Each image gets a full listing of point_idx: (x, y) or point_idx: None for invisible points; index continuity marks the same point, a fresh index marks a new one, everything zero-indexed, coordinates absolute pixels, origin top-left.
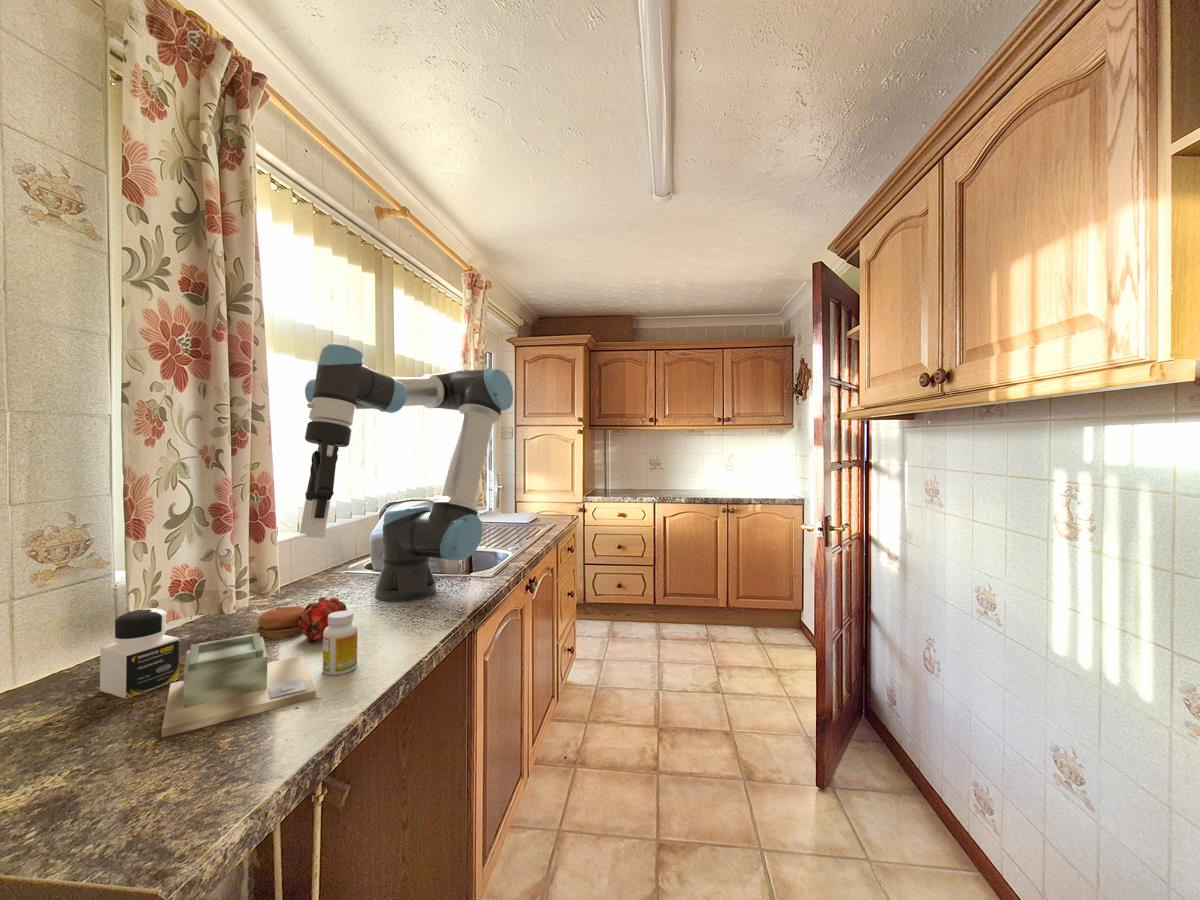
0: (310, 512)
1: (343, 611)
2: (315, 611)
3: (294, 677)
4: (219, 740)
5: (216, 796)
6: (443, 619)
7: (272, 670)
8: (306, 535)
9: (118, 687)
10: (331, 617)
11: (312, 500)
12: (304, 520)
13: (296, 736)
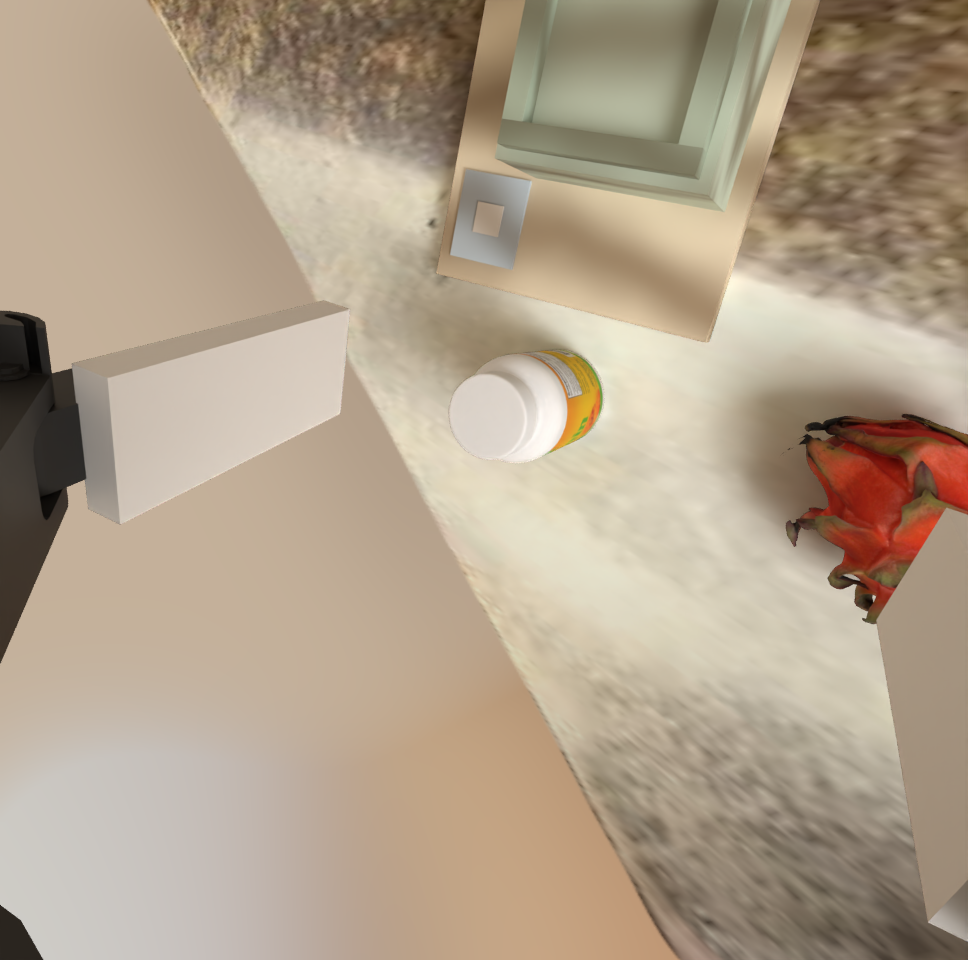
0: (191, 336)
1: (507, 439)
2: (885, 487)
3: (551, 261)
4: (410, 44)
5: (246, 21)
6: (677, 833)
7: (656, 227)
8: (320, 303)
9: None
10: (474, 376)
11: (98, 366)
12: (964, 597)
13: (325, 182)
